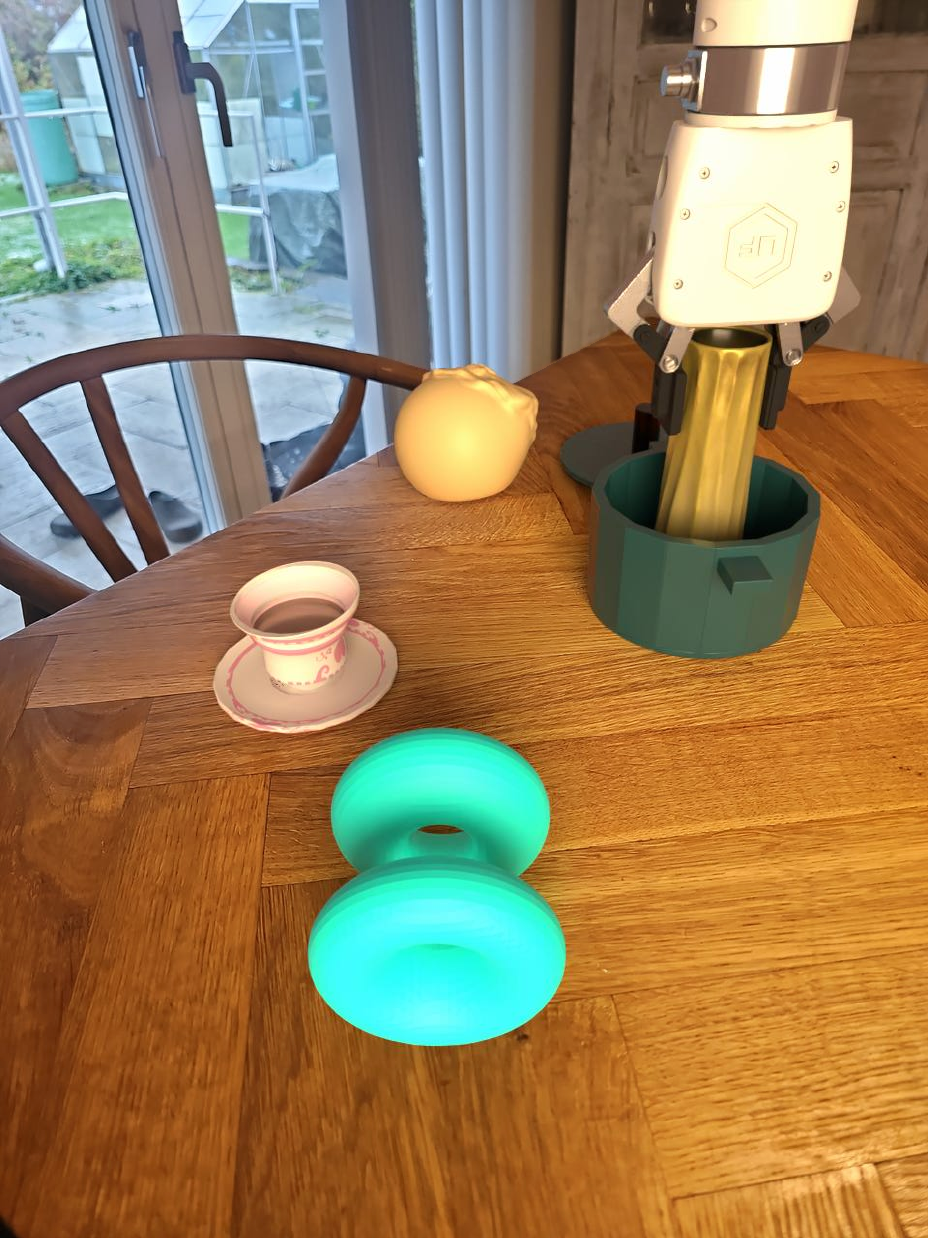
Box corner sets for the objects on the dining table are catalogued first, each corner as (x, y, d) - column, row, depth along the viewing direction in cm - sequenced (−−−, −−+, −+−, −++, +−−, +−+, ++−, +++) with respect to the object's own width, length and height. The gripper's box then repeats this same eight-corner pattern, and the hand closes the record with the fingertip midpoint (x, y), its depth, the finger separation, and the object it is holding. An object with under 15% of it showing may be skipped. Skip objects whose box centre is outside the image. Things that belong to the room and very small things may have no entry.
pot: (742, 524, 70) (759, 426, 65) (847, 677, 53) (881, 562, 49) (566, 535, 69) (570, 437, 64) (618, 693, 53) (629, 578, 48)
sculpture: (554, 478, 78) (557, 362, 72) (471, 530, 70) (467, 405, 64) (458, 448, 84) (454, 338, 78) (373, 493, 77) (361, 376, 70)
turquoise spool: (321, 1062, 35) (283, 912, 29) (347, 864, 43) (322, 716, 37) (564, 1057, 35) (575, 906, 29) (544, 859, 43) (550, 710, 37)
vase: (683, 512, 62) (711, 314, 54) (759, 541, 59) (800, 333, 50) (634, 543, 59) (655, 337, 51) (711, 576, 55) (746, 359, 47)
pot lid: (701, 428, 86) (708, 373, 83) (753, 499, 73) (765, 437, 70) (548, 437, 85) (549, 382, 82) (575, 509, 73) (577, 448, 69)
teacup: (348, 755, 49) (335, 673, 46) (176, 713, 53) (151, 633, 49) (426, 638, 58) (421, 561, 55) (275, 608, 62) (260, 534, 58)
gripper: (612, 101, 40) (591, 457, 50) (966, 85, 41) (873, 441, 51) (583, 90, 46) (570, 410, 57) (892, 77, 47) (822, 396, 57)
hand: (714, 421), depth 54 cm, fingers closed on vase, 5 cm apart
